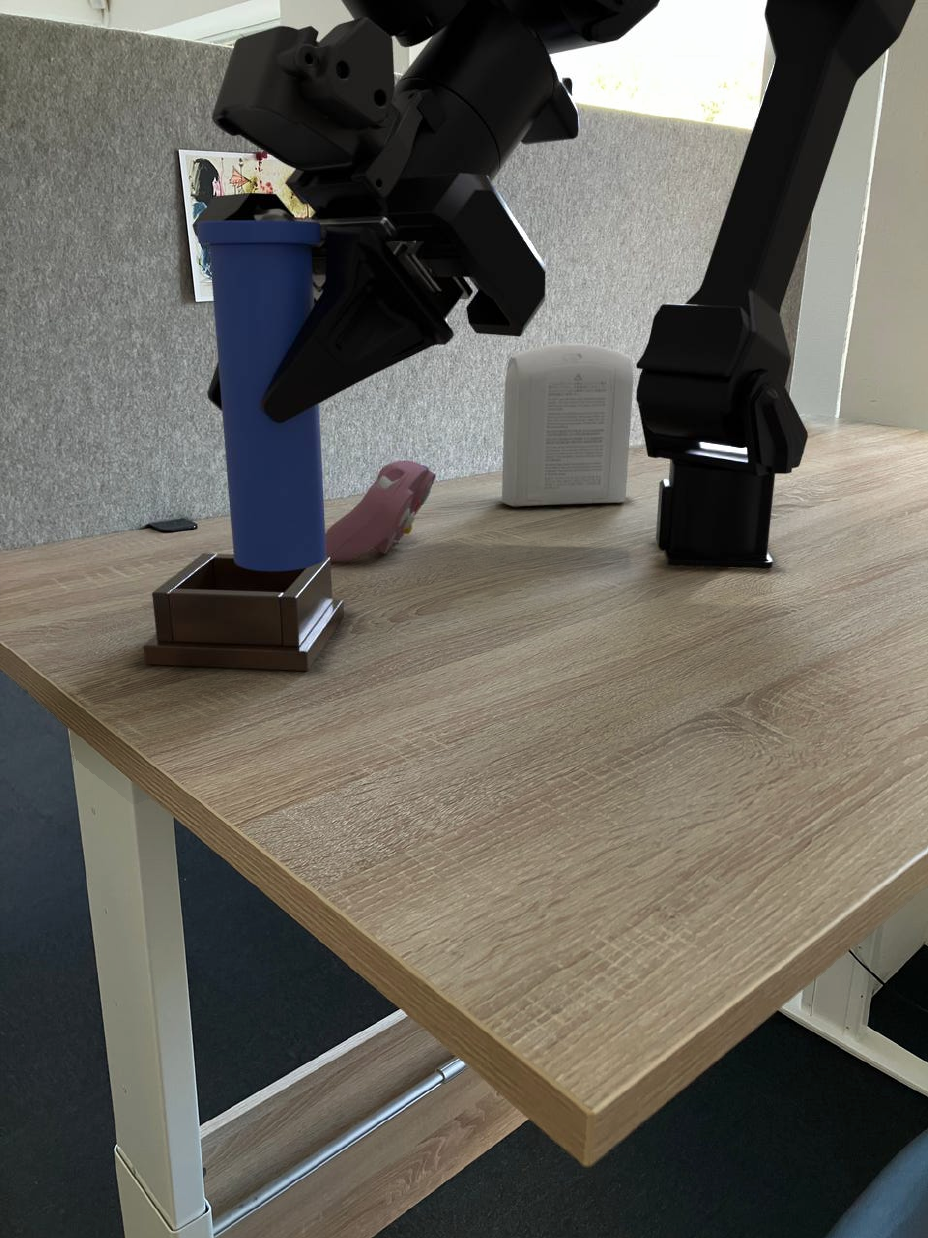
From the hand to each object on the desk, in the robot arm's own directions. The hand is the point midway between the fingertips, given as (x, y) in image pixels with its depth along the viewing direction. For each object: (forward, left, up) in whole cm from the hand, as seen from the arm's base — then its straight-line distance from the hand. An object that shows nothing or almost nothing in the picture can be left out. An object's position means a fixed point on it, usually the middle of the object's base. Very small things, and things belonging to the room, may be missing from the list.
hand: (241, 410), depth 42 cm
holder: (+2, -6, -12) cm, 14 cm away
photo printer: (-13, -40, -13) cm, 44 cm away
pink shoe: (-1, -25, -13) cm, 28 cm away
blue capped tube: (-1, -1, -7) cm, 7 cm away
